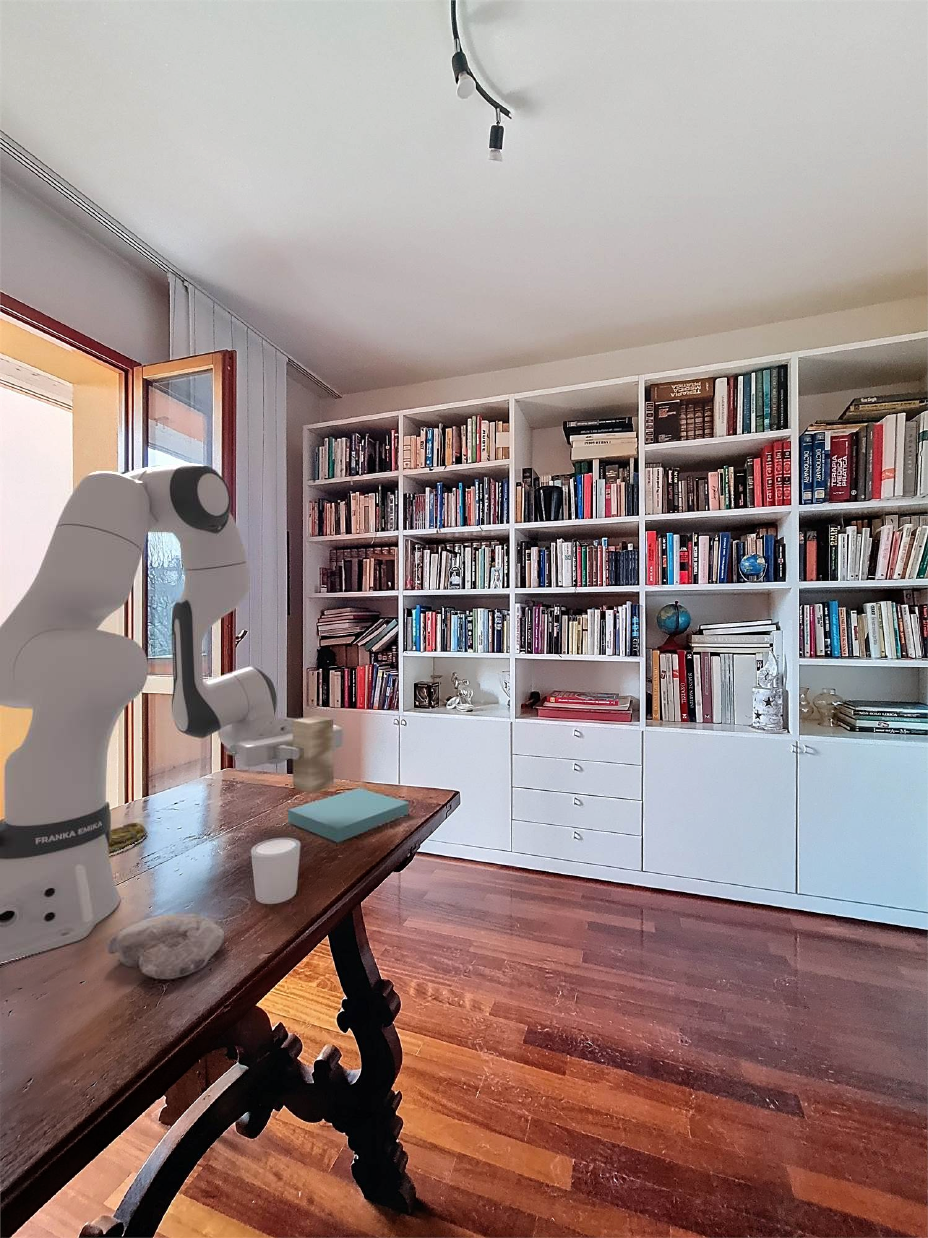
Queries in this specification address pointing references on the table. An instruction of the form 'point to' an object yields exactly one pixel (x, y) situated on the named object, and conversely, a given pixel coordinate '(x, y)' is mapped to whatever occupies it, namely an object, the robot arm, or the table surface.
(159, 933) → the fossil
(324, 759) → the birch block
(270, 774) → the table surface
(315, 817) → the teal board
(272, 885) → the shot glass
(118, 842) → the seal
